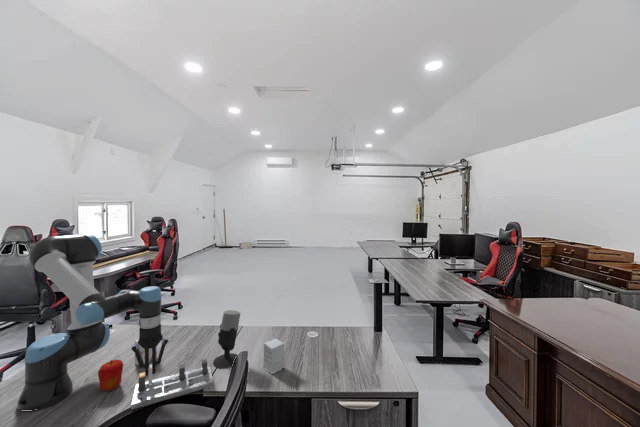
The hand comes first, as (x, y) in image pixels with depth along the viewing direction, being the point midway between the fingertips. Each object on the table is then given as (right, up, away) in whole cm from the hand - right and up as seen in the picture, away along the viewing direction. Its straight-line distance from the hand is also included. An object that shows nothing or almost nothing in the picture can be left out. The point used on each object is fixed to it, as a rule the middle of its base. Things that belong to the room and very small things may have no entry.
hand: (150, 381), depth 107 cm
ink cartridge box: (-18, -5, +24) cm, 30 cm away
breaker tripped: (-3, -3, -2) cm, 4 cm away
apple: (-19, -5, +3) cm, 20 cm away
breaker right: (+18, -3, +10) cm, 21 cm away
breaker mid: (+10, -3, +5) cm, 12 cm away
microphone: (+23, -6, +25) cm, 34 cm away
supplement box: (+48, -6, +19) cm, 52 cm away
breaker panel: (+8, -5, +4) cm, 10 cm away
